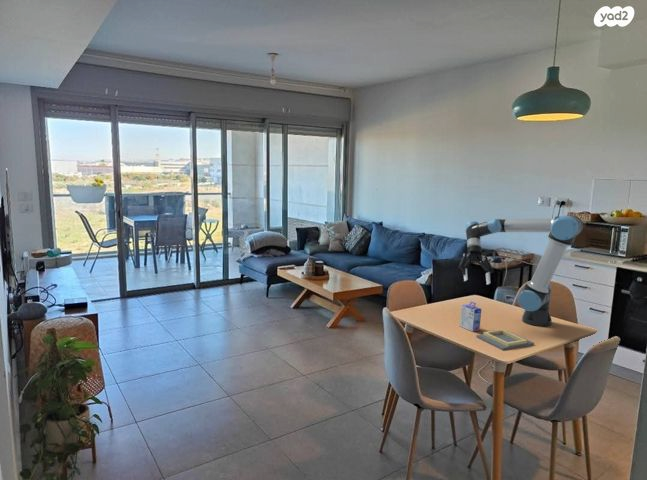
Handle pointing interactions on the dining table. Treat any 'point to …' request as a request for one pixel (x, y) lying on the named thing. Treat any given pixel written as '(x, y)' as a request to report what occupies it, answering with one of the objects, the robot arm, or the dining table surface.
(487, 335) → the dock
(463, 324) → the ink cartridge box
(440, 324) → the dining table surface
